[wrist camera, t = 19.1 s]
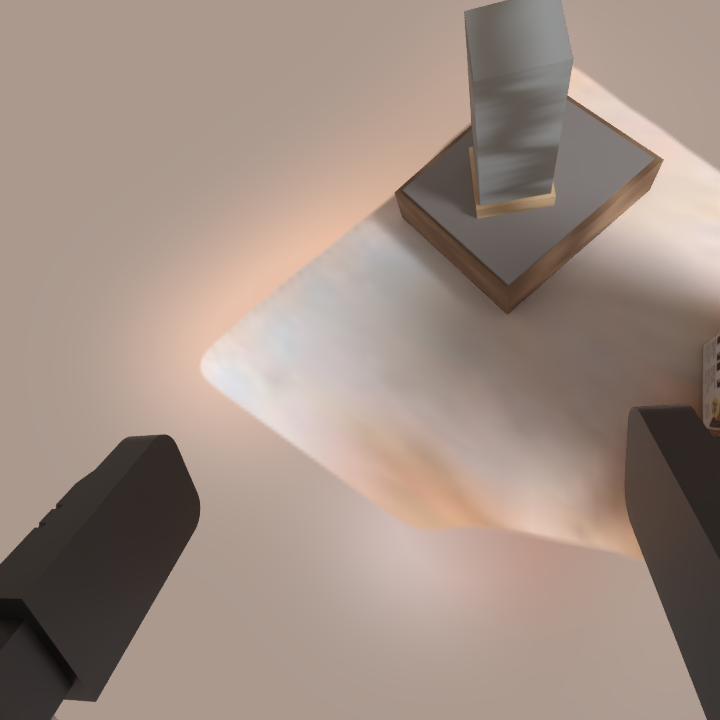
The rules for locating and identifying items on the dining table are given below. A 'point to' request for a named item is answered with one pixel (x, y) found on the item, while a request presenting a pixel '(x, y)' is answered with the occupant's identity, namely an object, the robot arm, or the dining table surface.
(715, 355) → the coffee box
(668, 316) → the dining table surface
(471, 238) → the plate
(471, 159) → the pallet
